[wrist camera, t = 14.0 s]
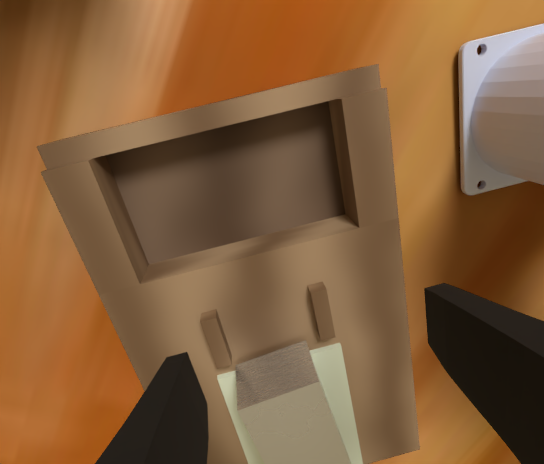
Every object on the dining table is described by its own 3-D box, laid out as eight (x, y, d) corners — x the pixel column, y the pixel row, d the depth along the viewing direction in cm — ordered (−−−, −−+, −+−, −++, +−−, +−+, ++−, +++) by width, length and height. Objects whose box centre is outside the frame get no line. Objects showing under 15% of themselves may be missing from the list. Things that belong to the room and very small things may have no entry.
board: (359, 67, 18) (392, 61, 14) (399, 412, 27) (426, 460, 23) (60, 139, 17) (18, 151, 14) (203, 466, 26) (200, 524, 23)
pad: (339, 342, 20) (341, 346, 20) (362, 465, 24) (364, 469, 24) (217, 375, 20) (217, 379, 19) (260, 493, 24) (261, 498, 23)
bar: (305, 339, 19) (319, 381, 16) (353, 467, 23) (370, 518, 21) (235, 365, 19) (237, 410, 16) (295, 488, 23) (305, 541, 21)
